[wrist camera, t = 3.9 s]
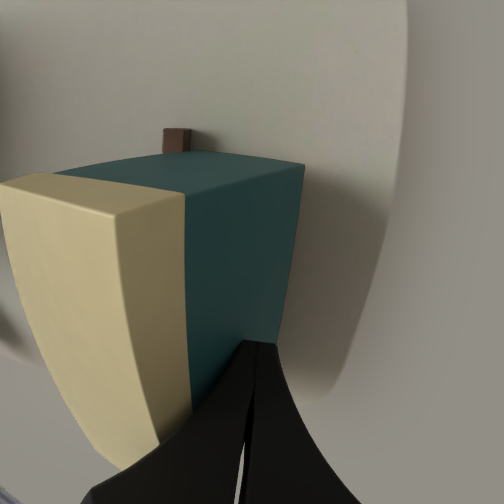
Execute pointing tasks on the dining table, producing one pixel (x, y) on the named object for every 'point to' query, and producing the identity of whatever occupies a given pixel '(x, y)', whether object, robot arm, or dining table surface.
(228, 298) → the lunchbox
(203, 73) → the dining table surface
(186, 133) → the strip
